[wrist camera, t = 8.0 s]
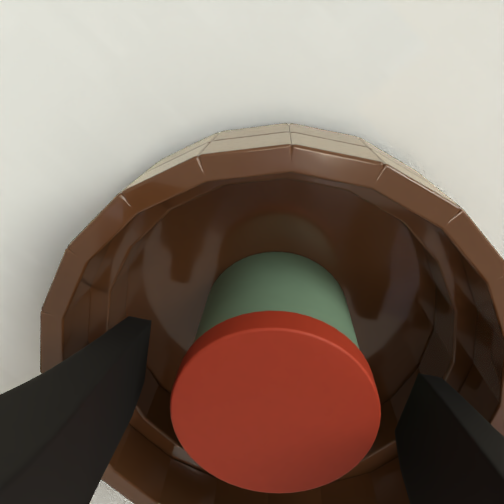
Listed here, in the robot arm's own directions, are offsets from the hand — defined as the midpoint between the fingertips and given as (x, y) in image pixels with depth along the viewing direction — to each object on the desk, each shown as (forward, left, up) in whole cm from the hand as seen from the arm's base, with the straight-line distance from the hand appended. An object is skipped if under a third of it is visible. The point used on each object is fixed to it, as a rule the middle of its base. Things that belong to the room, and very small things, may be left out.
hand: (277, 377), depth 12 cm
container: (0, 0, -3) cm, 3 cm away
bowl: (0, 0, -3) cm, 3 cm away
